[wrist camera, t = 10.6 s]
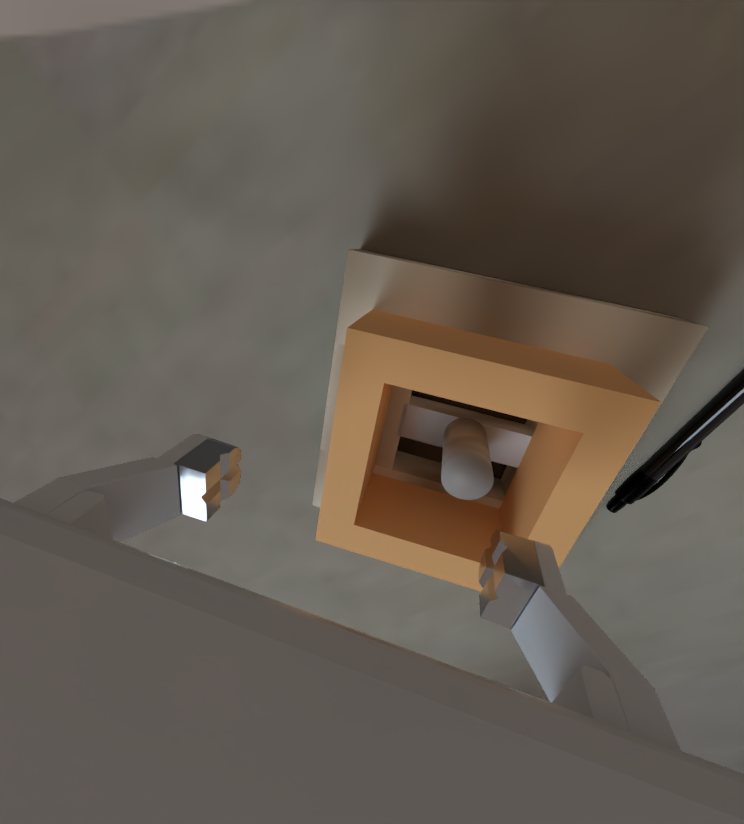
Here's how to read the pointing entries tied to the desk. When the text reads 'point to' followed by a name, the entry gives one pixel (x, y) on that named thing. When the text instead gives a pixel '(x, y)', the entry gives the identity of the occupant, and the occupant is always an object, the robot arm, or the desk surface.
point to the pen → (679, 446)
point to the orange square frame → (487, 388)
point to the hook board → (500, 318)
